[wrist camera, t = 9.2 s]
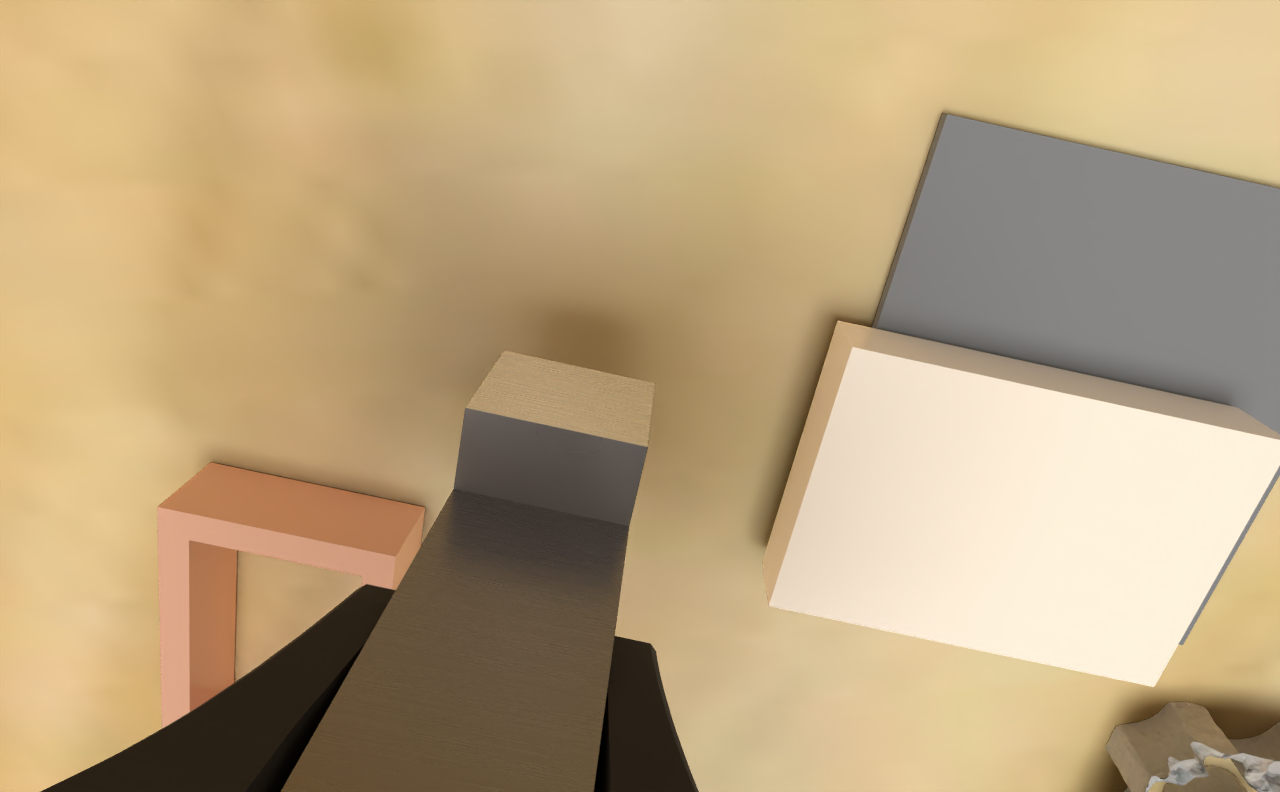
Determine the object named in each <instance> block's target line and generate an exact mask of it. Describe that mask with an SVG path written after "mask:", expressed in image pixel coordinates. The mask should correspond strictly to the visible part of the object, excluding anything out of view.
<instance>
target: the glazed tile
mask: <svg viewBox="0 0 1280 792" xmlns="http://www.w3.org/2000/svg"><path fill="white" fill-rule="evenodd" d="M1279 466H1280V434H1278V433H1277V432H1275V431H1274V430H1272V429H1270V428H1269V427H1267V426H1266V425H1264V424H1263V423H1261V422H1259V421H1258V420H1256V419H1255V418H1253V417H1252V416H1250V415H1249V414H1247V413H1245V412H1244V411H1242V410H1241V409H1239V408H1237V407H1233V406H1228V405H1223V404H1219V403H1214V402H1210V401H1205V400H1201V399H1196V398H1191V397H1187V396H1182V395H1178V394H1173V393H1168V392H1164V391H1159V390H1155V389H1150V388H1145V387H1141V386H1136V385H1132V384H1127V383H1123V382H1118V381H1113V380H1109V379H1104V378H1100V377H1095V376H1090V375H1086V374H1081V373H1077V372H1072V371H1068V370H1063V369H1058V368H1054V367H1049V366H1045V365H1040V364H1035V363H1031V362H1026V361H1022V360H1017V359H1012V358H1008V357H1003V356H999V355H994V354H990V353H985V352H980V351H976V350H971V349H967V348H962V347H957V346H953V345H948V344H944V343H939V342H935V341H930V340H925V339H921V338H916V337H912V336H907V335H902V334H898V333H893V332H889V331H884V330H879V329H875V328H870V327H866V326H861V325H857V324H852V323H847V322H843V321H837V324H836V327H835V330H834V334H833V337H832V340H831V343H830V346H829V350H828V353H827V356H826V359H825V362H824V366H823V369H822V372H821V375H820V378H819V382H818V385H817V388H816V391H815V394H814V398H813V401H812V404H811V407H810V410H809V414H808V417H807V420H806V423H805V426H804V430H803V433H802V436H801V439H800V442H799V446H798V449H797V452H796V455H795V459H794V462H793V465H792V468H791V471H790V475H789V478H788V481H787V484H786V487H785V491H784V494H783V497H782V500H781V503H780V507H779V510H778V513H777V516H776V519H775V523H774V526H773V529H772V532H771V535H770V539H769V542H768V545H767V548H766V551H765V555H764V558H763V561H762V563H763V570H764V577H765V584H766V592H767V599H768V606H770V607H775V608H779V609H784V610H789V611H794V612H798V613H803V614H808V615H813V616H818V617H822V618H827V619H832V620H837V621H841V622H846V623H851V624H856V625H860V626H865V627H870V628H875V629H880V630H884V631H889V632H894V633H899V634H903V635H908V636H913V637H918V638H922V639H927V640H932V641H937V642H942V643H946V644H951V645H956V646H961V647H965V648H970V649H975V650H980V651H984V652H989V653H994V654H999V655H1004V656H1008V657H1013V658H1018V659H1023V660H1027V661H1032V662H1037V663H1042V664H1046V665H1051V666H1056V667H1061V668H1065V669H1070V670H1075V671H1080V672H1085V673H1089V674H1094V675H1099V676H1104V677H1108V678H1113V679H1118V680H1123V681H1127V682H1132V683H1137V684H1142V685H1147V686H1151V687H1154V686H1155V685H1156V683H1157V681H1158V679H1159V678H1160V676H1161V674H1162V672H1163V670H1164V669H1165V667H1166V665H1167V663H1168V662H1169V660H1170V658H1171V656H1172V655H1173V653H1174V651H1175V649H1176V648H1177V646H1178V644H1179V642H1180V641H1181V639H1182V637H1183V635H1184V633H1185V632H1186V630H1187V628H1188V626H1189V625H1190V623H1191V621H1192V619H1193V618H1194V616H1195V614H1196V612H1197V611H1198V609H1199V607H1200V605H1201V604H1202V602H1203V600H1204V598H1205V596H1206V595H1207V593H1208V591H1209V589H1210V588H1211V586H1212V584H1213V582H1214V581H1215V579H1216V577H1217V575H1218V574H1219V572H1220V570H1221V568H1222V567H1223V565H1224V563H1225V561H1226V559H1227V558H1228V556H1229V554H1230V552H1231V551H1232V549H1233V547H1234V545H1235V544H1236V542H1237V540H1238V538H1239V537H1240V535H1241V533H1242V531H1243V530H1244V528H1245V526H1246V524H1247V522H1248V521H1249V519H1250V517H1251V515H1252V514H1253V512H1254V510H1255V508H1256V507H1257V505H1258V503H1259V501H1260V500H1261V498H1262V496H1263V494H1264V493H1265V491H1266V489H1267V487H1268V485H1269V484H1270V482H1271V480H1272V478H1273V477H1274V475H1275V473H1276V471H1277V470H1278V468H1279Z"/></svg>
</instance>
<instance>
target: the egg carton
mask: <svg viewBox="0 0 1280 792" xmlns="http://www.w3.org/2000/svg"><path fill="white" fill-rule="evenodd" d="M1105 748H1106V750H1107V752H1108V753H1109V754H1110V756H1111V758H1112V760H1113V762H1114V763H1115V765H1116V766H1117V768H1118V769H1119V771H1120V773H1121V775H1122V777H1123V779H1124V781H1125V783H1126V784H1127V786H1128V787H1127V788H1126V790H1125V791H1124V792H1148V791H1149V789H1150V788H1151V787H1152V785H1153V784H1154V783H1156V782H1159V781H1164V782H1168V783H1167V784H1166V785H1165V786H1164V791H1163V792H1247V791H1246V789H1245V788H1244V787H1243V785H1242V784H1241V783H1240V782H1239V780H1238V779H1237V778H1236V776H1235V775H1233V774H1232V773H1231V772H1229V771H1228V770H1226V769H1224V768H1221V767H1216V766H1205V765H1204V763H1203V762H1204V759H1205V756H1213V757H1217V758H1223V759H1227V758H1230V759H1231V760H1232V762H1233V763H1234V764H1235V766H1236V767H1237V769H1238V770H1239V771H1240V773H1241V774H1242V776H1243V777H1244V779H1245V780H1246V782H1247V783H1248V784H1249V786H1251V787H1252V788H1254V789H1255V790H1257V791H1258V792H1280V721H1279V722H1277V723H1276V724H1275V725H1274V726H1272V727H1271V728H1270V729H1269V730H1267V731H1265V732H1264V733H1262V734H1260V735H1258V736H1254V737H1251V738H1245V739H1238V740H1236V739H1227V737H1226V736H1225V734H1224V733H1223V731H1222V730H1221V729H1220V728H1219V727H1218V726H1217V725H1216V724H1215V722H1214V720H1213V719H1212V717H1211V715H1210V713H1209V712H1208V711H1207V709H1206V708H1205V707H1204V706H1201V705H1197V704H1193V703H1190V702H1169V703H1167V704H1166V705H1165V706H1164V707H1163V708H1162V710H1161V711H1160V712H1159V713H1157V714H1156V715H1154V716H1153V717H1151V718H1149V719H1146V720H1143V721H1140V722H1137V723H1129V724H1122V725H1118V726H1116V727H1115V729H1114V731H1113V732H1112V735H1111V737H1110V739H1109V742H1108V743H1107V744H1106V747H1105Z"/></svg>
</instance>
